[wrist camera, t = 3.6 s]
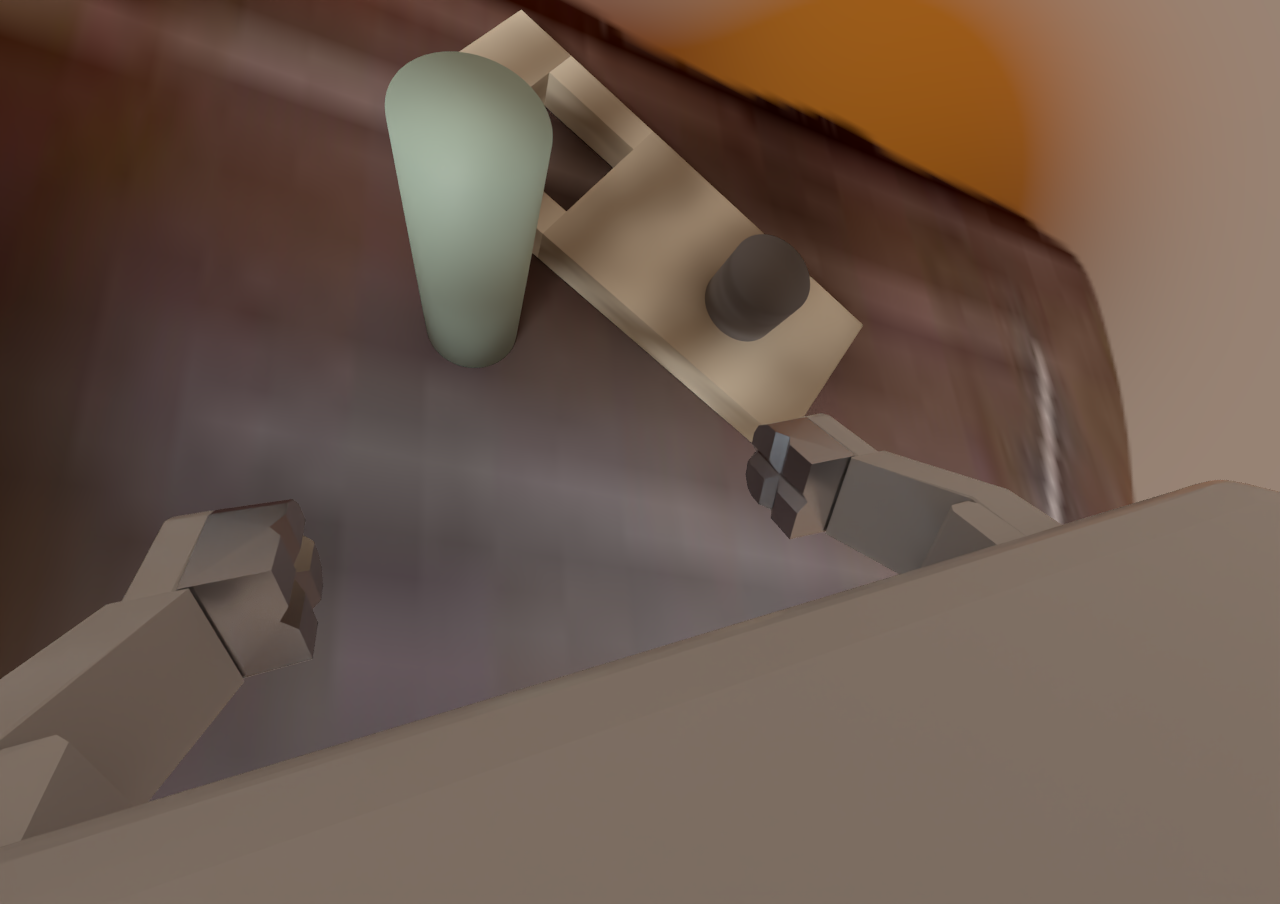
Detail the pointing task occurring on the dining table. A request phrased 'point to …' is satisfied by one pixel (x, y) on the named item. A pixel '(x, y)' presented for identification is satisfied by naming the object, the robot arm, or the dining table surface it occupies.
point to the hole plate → (676, 254)
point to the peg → (469, 195)
